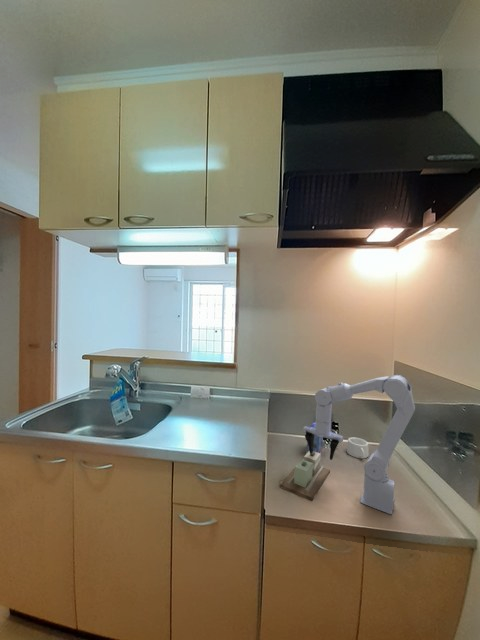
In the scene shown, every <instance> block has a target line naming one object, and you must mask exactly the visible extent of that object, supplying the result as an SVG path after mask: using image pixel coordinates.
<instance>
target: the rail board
mask: <svg viewBox="0 0 480 640" xmlns="http://www.w3.org/2000/svg"><path fill="white" fill-rule="evenodd" d="M321 455H322V454H321V452H320V453H317V452H314V451H313V452H312V454H311V453H310V451H309V452H308V453H307V454H305V455H304V456H303V460H305V461H308V462H311V463H313V471H312V480H311V481H310V482H309V484H308V485H307V487H306V488H305V487H302V486H300V485H297V484H295V483H294V472H295V467H293V468H292V470H291V472H290V473H288V475H287V476H286V477H285V478H284V479H283V480H282V481H281V483H279V488H281V489H283V490H286V491H289V492H290V493H294V494H295V495H298V496H301V497H303V498H305V499H308V500H310V501H314V499H315V497H316V495H317V494H318V492H319V490H320V489H321V487H322V486H323V485H324V482H325V481H326V479H327V478H328V476H329V475H330V472H331V469H328V468H325V466H323V465H321Z"/></svg>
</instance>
